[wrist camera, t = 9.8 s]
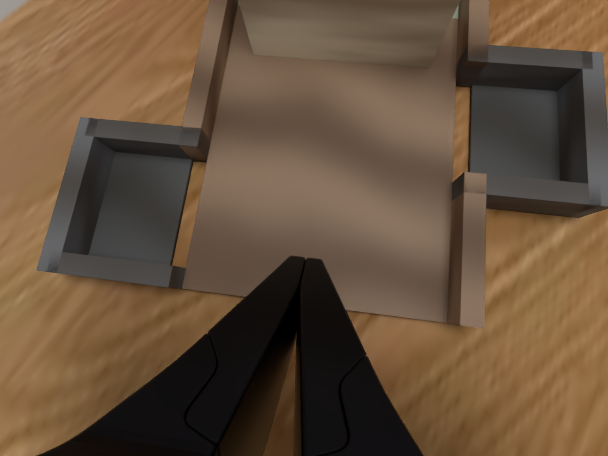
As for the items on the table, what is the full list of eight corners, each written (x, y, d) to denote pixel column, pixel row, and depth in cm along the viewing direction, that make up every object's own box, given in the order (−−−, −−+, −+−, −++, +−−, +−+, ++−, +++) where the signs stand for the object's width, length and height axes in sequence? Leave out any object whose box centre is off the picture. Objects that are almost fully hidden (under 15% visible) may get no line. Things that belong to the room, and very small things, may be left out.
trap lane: (584, 340, 16) (743, 365, 10) (68, 273, 18) (-60, 261, 12) (564, -108, 21) (658, -264, 15) (173, -120, 23) (123, -262, 17)
